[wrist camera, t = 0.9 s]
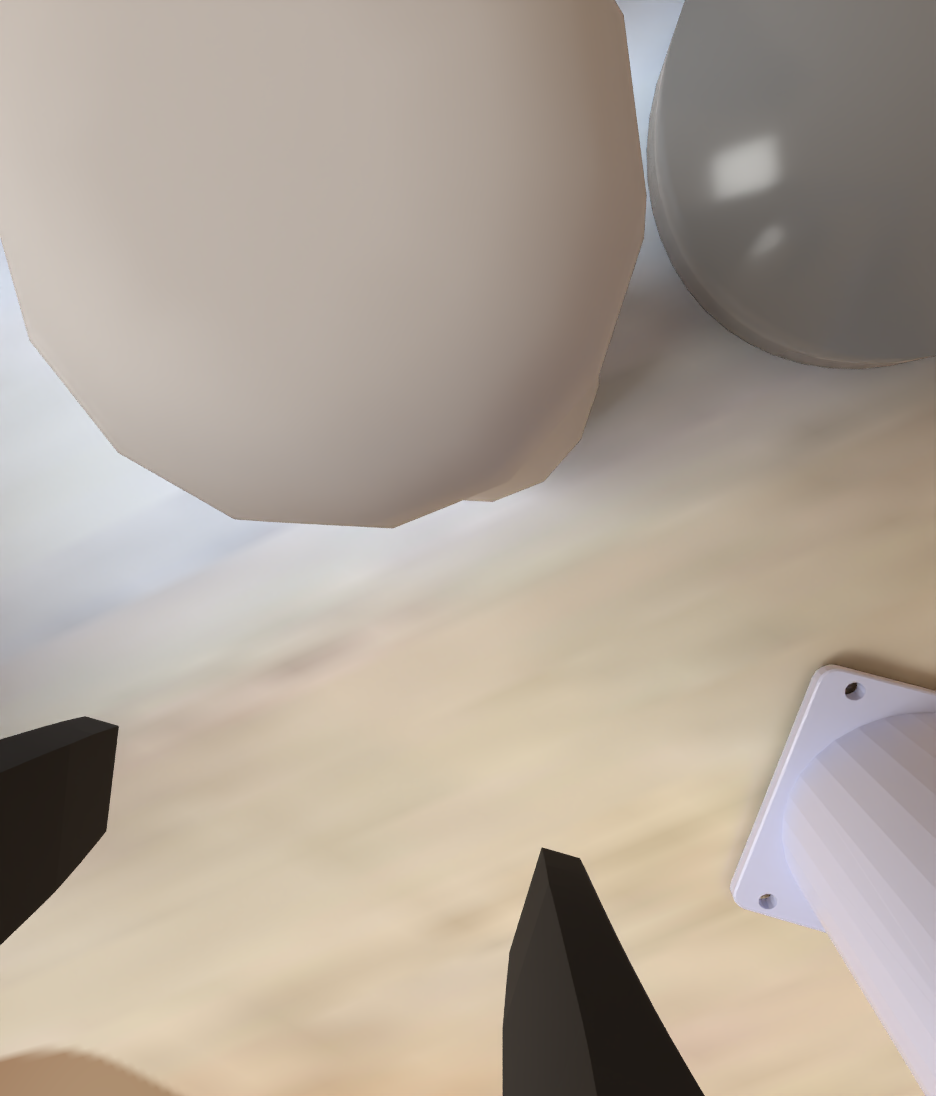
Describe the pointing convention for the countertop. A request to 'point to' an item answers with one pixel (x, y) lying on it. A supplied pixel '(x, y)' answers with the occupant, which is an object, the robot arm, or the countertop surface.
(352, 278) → the salt shaker
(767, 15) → the coaster
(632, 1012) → the robot arm
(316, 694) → the countertop surface
